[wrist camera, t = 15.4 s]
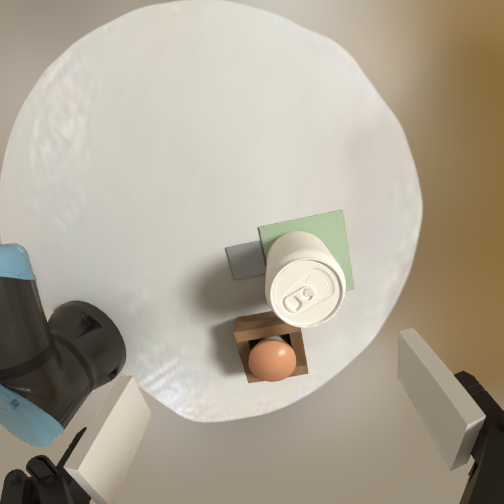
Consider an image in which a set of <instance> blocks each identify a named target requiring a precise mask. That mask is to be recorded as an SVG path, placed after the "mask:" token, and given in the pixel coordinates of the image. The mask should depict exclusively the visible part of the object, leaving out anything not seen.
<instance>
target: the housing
mask: <svg viewBox="0 0 504 504" xmlns="http://www.w3.org/2000/svg"><path fill="white" fill-rule="evenodd" d="M283 334H289V335H290V340H291V345H292V348H293V350H294V352H295V355H296V367H295V369H294V371H293V372H292V374H291V375H290V376H288V377H292V376H297V375H303V374H308V368H307V362H306V356H305V350H304V344H303V339H302V333H301V328H300V327H295V326H292V325H290V324H288V323H286V322H284V321H283V320H281V319H280V318H279V317H278V316H276V315H275V314H274V312H273V311H271V312H265V313H260V314H254V315H248V316H243V317H237V321H236V325H235V329H234V336H235V339H236V343H237V346H238V350H239V353H240V356H241V360H242V363H243V367H244V370H245V373H246V377H247V380H248V383H253V382H260V381H264V380H261V379H259V378H258V377H256V376H255V375H254V374H253V373H252V372H251V370H250V368H249V364H248V361H249V354H250V352H251V350H252V348H253V347H254V346H255V342H254V340H255V339H261V338H267V337H272V336H278V335H283Z"/></svg>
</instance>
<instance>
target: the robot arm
mask: <svg viewBox="0 0 504 504" xmlns="http://www.w3.org/2000/svg"><path fill="white" fill-rule="evenodd" d="M35 280H36V277H35V275H34V274H33V271H32V267H31V264H30V260H29V256H28V253H27V251H26V250H25V248H24V247H22V246H21V245H19V244H3V245H0V424H1V425H2V426H3V427H5V428H6V429H7V430H8V431H9V432H11V433H12V434H13V435H15V436H16V437H17V438H19V439H21V440H22V441H24V442H26V443H28V444H30V445H33V446H37V447H46V446H49V445H50V444H52V442H53V441H54V440H55V439H56V438H57V437H58V436H59V434H62V433H63V430H64V429H65V428H66V426H67V425H68V423H69V422H70V420H71V419H72V418H73V416H74V415H75V413H76V412H77V411H78V409H79V408H80V406H81V405H82V404H83V402H84V401H85V400H86V398H87V397H88V395H89V394H90V392H91V391H92V390H94V389H96V388H98V387H100V386H102V385H104V384H106V383H108V382H110V381H112V380H113V379H114V378H115V377H116V376H117V375H118V374H119V372H120V371H121V370H122V368H123V366H124V364H125V360H126V349H125V344H124V341H123V338H122V336H121V334H120V332H119V330H118V329H117V327H116V326H115V324H114V323H113V322H112V320H111V319H110V318H109V317H108V316H107V315H106V314H105V313H103V312H102V311H101V310H100V309H98V308H97V307H95V306H93V305H91V304H89V303H86V302H83V301H70V302H67V303H65V304H63V305H62V306H60V307H59V308H58V309H56V310H55V311H54V312H53V314H52V315H51V317H50V319H49V321H48V323H47V320H46V317H45V314H44V310H43V307H42V304H41V300H40V296H39V293H38V289H37V285H36V281H35ZM398 334H399V335H398V379H399V380H400V382H401V383H402V385H403V387H404V389H405V390H406V392H407V394H408V395H409V397H410V399H411V400H412V402H413V404H414V406H415V407H416V409H417V411H418V413H419V414H420V416H421V418H422V420H423V421H424V423H425V425H426V427H427V429H428V431H429V432H430V434H431V436H432V438H433V440H434V441H435V443H436V445H437V447H438V449H439V451H440V452H441V454H442V456H443V458H444V460H445V462H446V464H447V466H448V468H449V470H450V471H451V470H453V469H456V468H458V467H460V466H462V465H464V464H466V463H467V462H468V460H469V458H470V455H472V456H473V458H474V460H475V462H474V464H473V466H472V468H471V470H470V472H469V474H468V475H470V476H469V479H468V482H467V485H466V488H465V490H464V493H463V496H462V498H461V501H460V504H504V411H503V410H502V409H501V408H500V406H499V405H498V404H497V403H496V402H495V401H494V399H493V398H492V397H491V396H490V395H489V393H488V392H487V391H486V390H484V388H483V387H482V385H480V384H479V382H478V381H477V380H476V379H475V377H474V376H473V375H471V374H469V373H467V372H465V371H462V372H459V373H457V374H455V375H453V374H452V373H451V372H450V370H449V369H448V368H447V367H446V366H445V364H444V363H443V362H442V361H441V360H440V358H439V357H438V356H437V355H436V354H435V353H434V351H433V350H432V349H431V348H430V347H429V346H428V344H427V343H426V342H425V341H424V340H423V339H422V338H421V337H420V335H419V334H418V333H417V332H416V331H415V330H414V329H413V328H410V329H407V330H403V331H399V333H398ZM151 416H152V414H151V412H150V410H149V408H148V406H147V404H146V402H145V400H144V398H143V396H142V394H141V392H140V390H139V388H138V386H137V384H136V382H135V379H134V377H133V376H121V377H120V378H119V380H118V381H117V382H116V384H115V386H114V387H113V389H112V390H111V392H110V393H109V395H108V396H107V398H106V399H105V401H104V403H103V404H102V406H101V407H100V409H99V410H98V412H97V413H96V415H95V417H94V418H93V420H92V421H91V423H90V424H89V426H88V428H86V427H85V428H83V429H82V430H81V431H80V432H78V433H77V434H76V436H75V438H74V439H73V441H72V443H71V444H70V445H69V449H67V450H66V452H65V453H64V455H63V457H62V458H61V460H60V461H59V463H58V465H57V466H55V465H54V464H53V463H52V462H51V460H50V459H49V458H48V457H46V456H44V455H39V456H35V457H33V458H32V459H31V460H30V461H28V463H27V465H26V470H27V472H28V473H29V474H30V475H31V476H32V477H28V476H27V475H26V474H25V473H24V472H23V471H22V470H20V469H16V470H12V471H11V472H9V473H8V474H7V475H6V477H5V480H4V485H3V490H2V495H1V501H0V504H90V503H89V502H90V500H91V498H92V499H93V500H94V501H95V502H96V503H97V504H115V501H116V499H117V497H118V494H119V492H120V489H121V487H122V484H123V482H124V480H125V477H126V475H127V472H128V470H129V467H130V465H131V463H132V460H133V458H134V456H135V453H136V451H137V449H138V446H139V444H140V441H141V439H142V437H143V435H144V432H145V430H146V428H147V425H148V423H149V420H150V418H151Z"/></svg>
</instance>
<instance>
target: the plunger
mask: <svg viewBox="0 0 504 504" xmlns="http://www.w3.org/2000/svg"><path fill="white" fill-rule="evenodd" d="M248 364H249V368H250V370H251V372H252V373H253V374H254V375H255V376H256V377H258V378H259V379H261V380H264V381H270V382H274V381H280V380H283V379H285V378H287V377H288V376H290V375H291V374H292V372H293V371H294V369H295V367H296V355H295V352H294V350H293V348H292V347H291V346H290V345H289V344H288V341H287V335H286V334H283V335H278V336H272V337H267V338H261V339H258V342H257V344H256V345H255V346H254V347H253V348H252V350H251V352H250V354H249V361H248Z"/></svg>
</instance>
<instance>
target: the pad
mask: <svg viewBox="0 0 504 504" xmlns="http://www.w3.org/2000/svg"><path fill="white" fill-rule="evenodd" d="M259 230H260V235H261V239H262V244H263V248H264V253H265V257H266V262H267V256H268V252H269V250H270V248H271V246H272V245H273V243H274V242H275V241H276V240H277V239H278V238H280V237H281V236H283V235H285V234H287V233H290V232H295V231H302V232H307V233H310V234H313V235H314V236H316V237H317V238H319V239H320V240H321V241H322V242H323V244H324V245H325V246H326V248H327V249H328V250H329V252H330V253H331V254H332V256H333V257H334V258H335V260H336V261H337V263H338V264H339V265H340V267H341V269H342V271H343V273H344V276H345V281H346V291H349V290H354V283H353V275H352V268H351V260H350V253H349V247H348V240H347V234H346V228H345V222H344V216H343V210H340V211H335V212H330V213H325V214H320V215H315V216H310V217H305V218H300V219H295V220H291V221H286V222H281V223H276V224H271V225H267V226H262V227H259Z"/></svg>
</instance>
